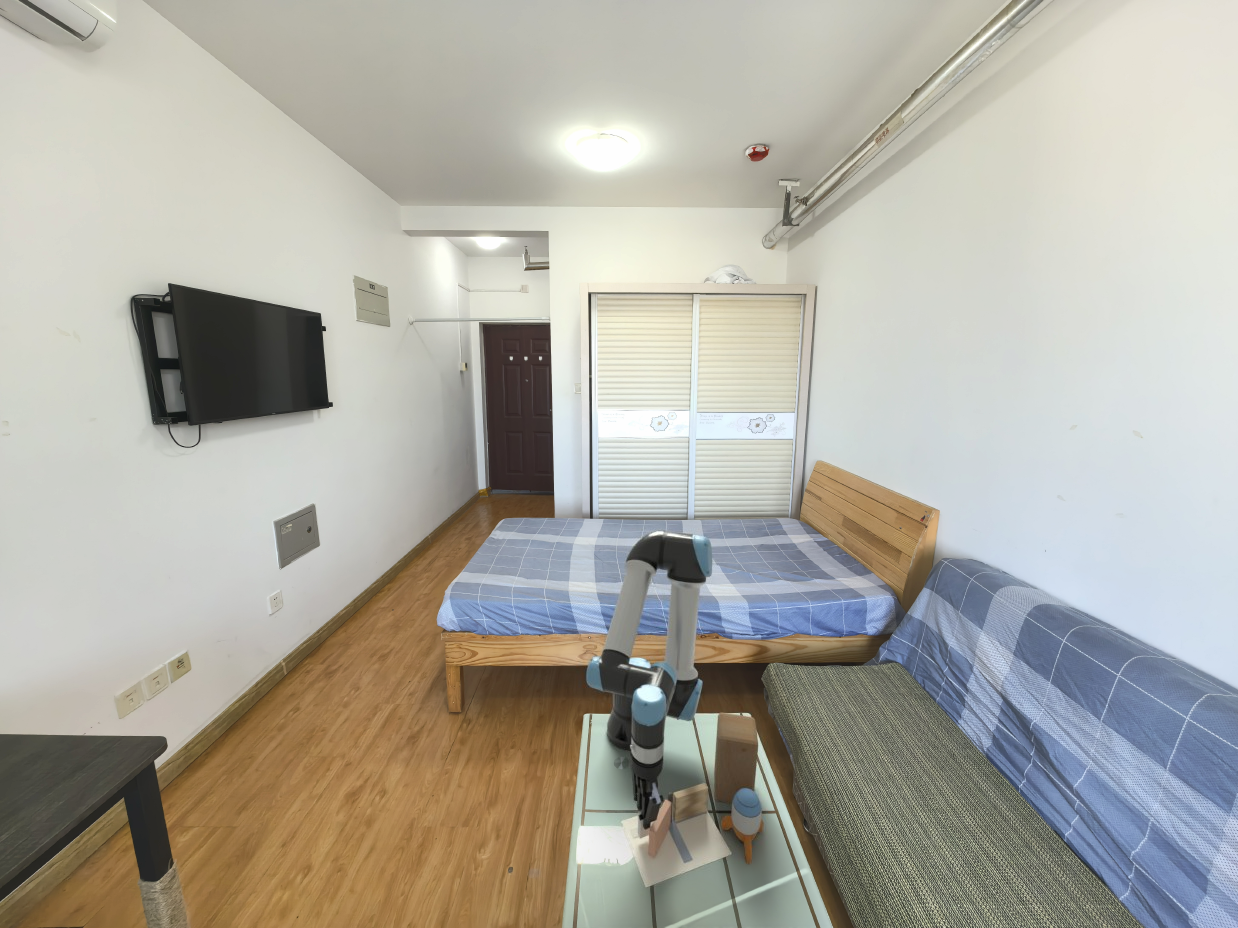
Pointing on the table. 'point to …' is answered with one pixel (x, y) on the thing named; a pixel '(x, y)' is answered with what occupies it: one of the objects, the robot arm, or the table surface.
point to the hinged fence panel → (659, 828)
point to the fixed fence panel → (688, 802)
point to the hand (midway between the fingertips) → (643, 833)
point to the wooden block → (734, 756)
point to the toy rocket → (745, 818)
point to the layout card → (677, 847)
